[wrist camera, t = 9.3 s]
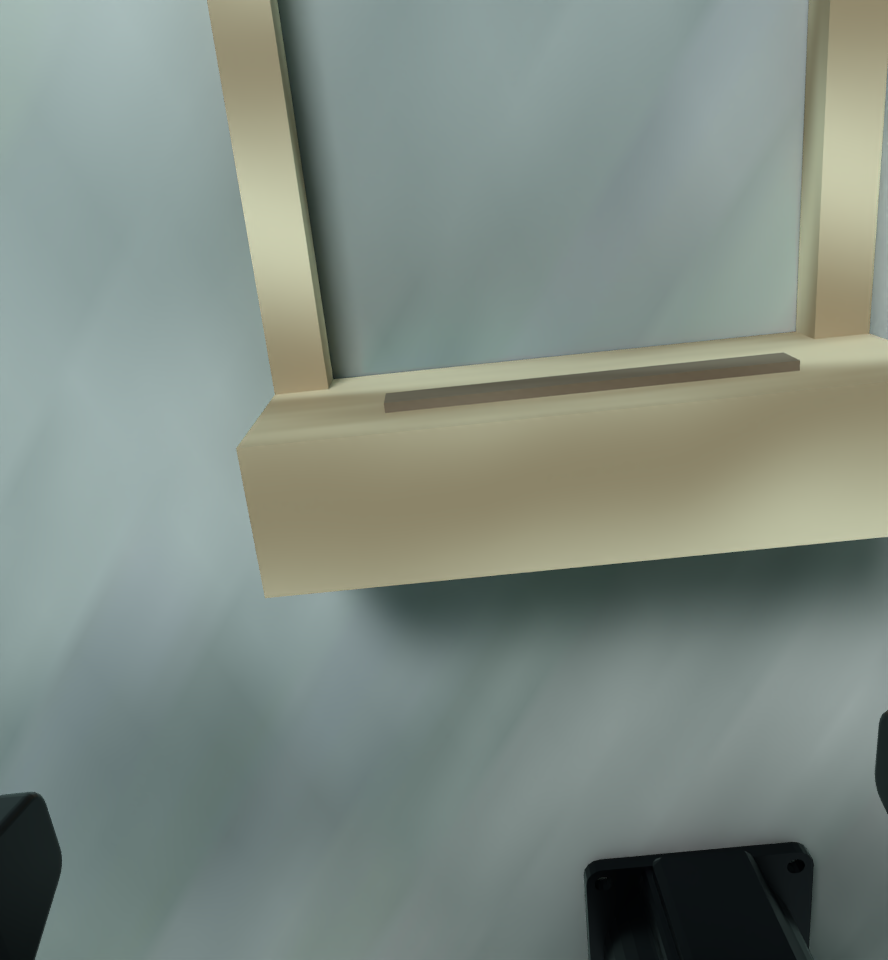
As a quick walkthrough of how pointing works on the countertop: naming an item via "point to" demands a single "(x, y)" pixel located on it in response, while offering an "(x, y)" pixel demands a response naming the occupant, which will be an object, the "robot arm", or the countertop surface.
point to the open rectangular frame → (567, 383)
